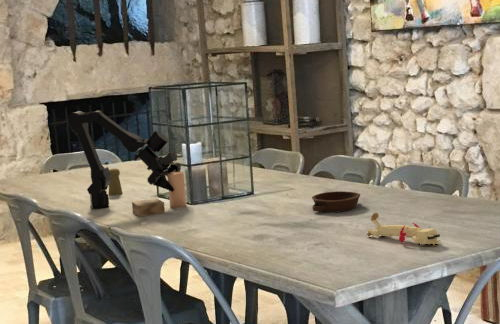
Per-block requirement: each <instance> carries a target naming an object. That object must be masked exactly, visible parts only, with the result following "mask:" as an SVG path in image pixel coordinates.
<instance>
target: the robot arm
mask: <svg viewBox="0 0 500 324" xmlns="http://www.w3.org/2000/svg"><path fill="white" fill-rule="evenodd" d="M91 122H92V123H94V122H96V124H98V125H99V126H100V127H102V128H103V129H105V130H106V131H107V132H108V133H110V134H111V135H113V136H114V137H115V138H117V139H118V140H119V141H120V143H121V145H122V146H123V147H124V148H125V149H126V150H127V151H128V152H130V153H134V154H133V156H134V159H133V160H134V162H137V161H140V160H141V161H142V162H143V164H145V165H146V166H147V168H146V169H147V171H151V173H150V174H149V176H148V177H147V183H148V184H149V185H150V186H155V187H159V188H161V189H165V190H168V192H169V191H172V192H173V191H174V188H173V187H172V186H171V184H170V183H169V182H168V176H167V174H168V173H172V172H181V169H182V165H181V164H180V163H179V162H176V161H178V154H177V153H176V152H174V151H170V152H168V153H167V154H166V155H165V156H158V155H157V154H156V153H160V152H162V150H163V149H164V148H165V147H166V145H168V143H169V142H170V140H169V138H168V137H167V136H166V135H165V134H164V133H161V132H159V131H158V130H154V132H153V133H152V134H151V136H150V137H149V138H142V137H141V136H139V135H137V134H135V133H134V132H130V131H128V130H127V129H124V128H123V127H122V126H121V125H119V124H118V123H117V122H115V121H113V120H112V119H111V118H110V117H109V116H107V115H106V114H104V113H103V111H101V110H96V111H88V112H83V111H81V110H79V111H75V112H72V113H69V114H68V116H67V124H68V125H69V127H70V130H71V131H72V132H73V133H74V134H75V135H76V136H77V138H78V141H79V143H80V145H81V148H82V150H83V153H84V155H85V158H86V160H87V163H88V165H89V168H90V180H91V184H90V185H89V186H88V187H87V189H86V191H87V193H88V194H89V200H90V205H89V206H90V208H91V209H93V210H96V209H102V208H109V207H110V200H109V199H110V198H109V193H108V194H107V190H108V188H109V184H110V183H111V176H112V175H111V174H110V172H109V170H110V169H109V167H108V166H107V167H104V166H103V164H102V162H101V159H100V158H99V155H98V153H97V149H96V147H95V145H94V142H93V140H92V137H91V135H90V131H89V123H91ZM144 147H145V148H144ZM139 150H140V151H139ZM135 152H137V153H135ZM173 162H174V163H173ZM171 163H172V164H171Z"/></svg>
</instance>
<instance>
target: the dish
mask: <svg viewBox="0 0 500 324" xmlns="http://www.w3.org/2000/svg"><path fill="white" fill-rule="evenodd" d="M360 197H361V194H360V193H359V192H355V191H343V190H342V191H337V190H336V191H326V192H321V193H317V194H314V195H313V196H312V197H311V199H312V201H313V203H314V204H313V205H312V211H313V212H323V211H325V212H324V213H338V212H337V211H341V212H345V210H347V211H350V209H351V210H353V209H355V208H356V207H357V205H358V202H359V199H360Z"/></svg>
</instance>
